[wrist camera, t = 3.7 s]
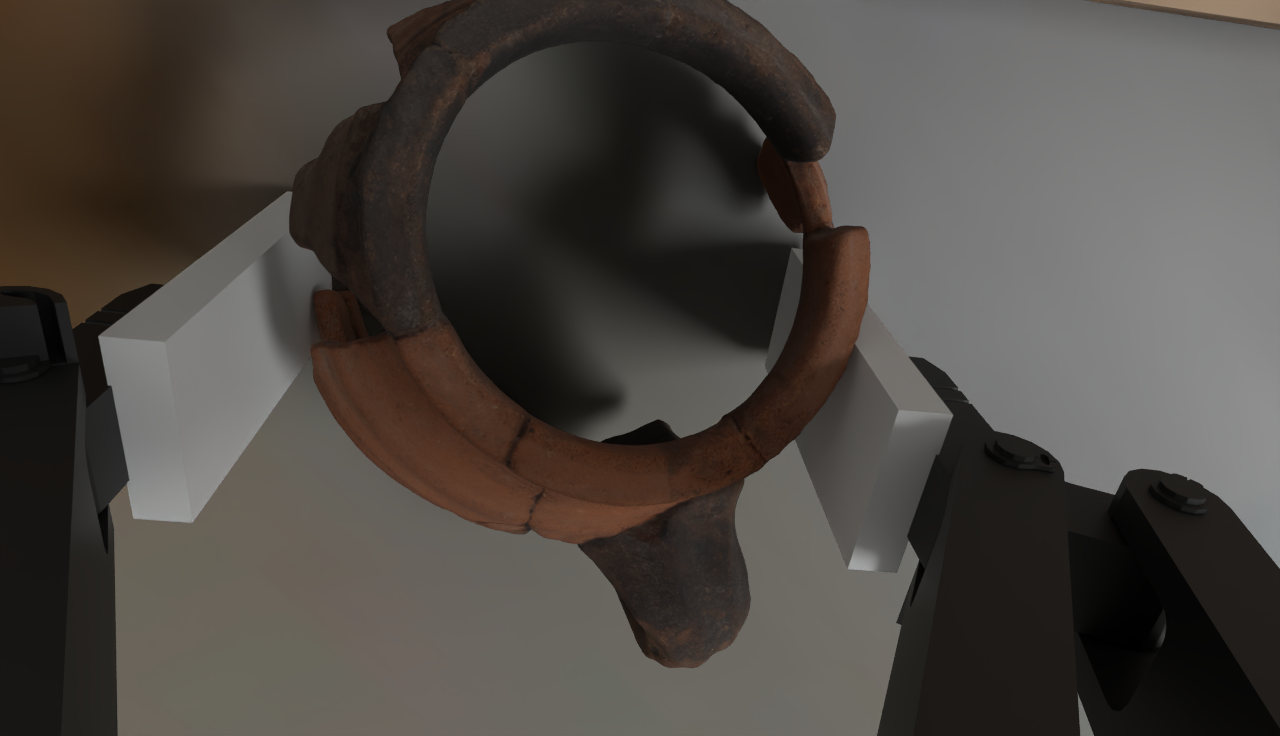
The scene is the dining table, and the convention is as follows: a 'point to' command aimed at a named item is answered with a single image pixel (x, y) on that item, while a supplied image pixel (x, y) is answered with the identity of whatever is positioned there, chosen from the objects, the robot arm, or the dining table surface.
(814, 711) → the dining table surface
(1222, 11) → the tan plinth
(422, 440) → the broken clay pot rim
